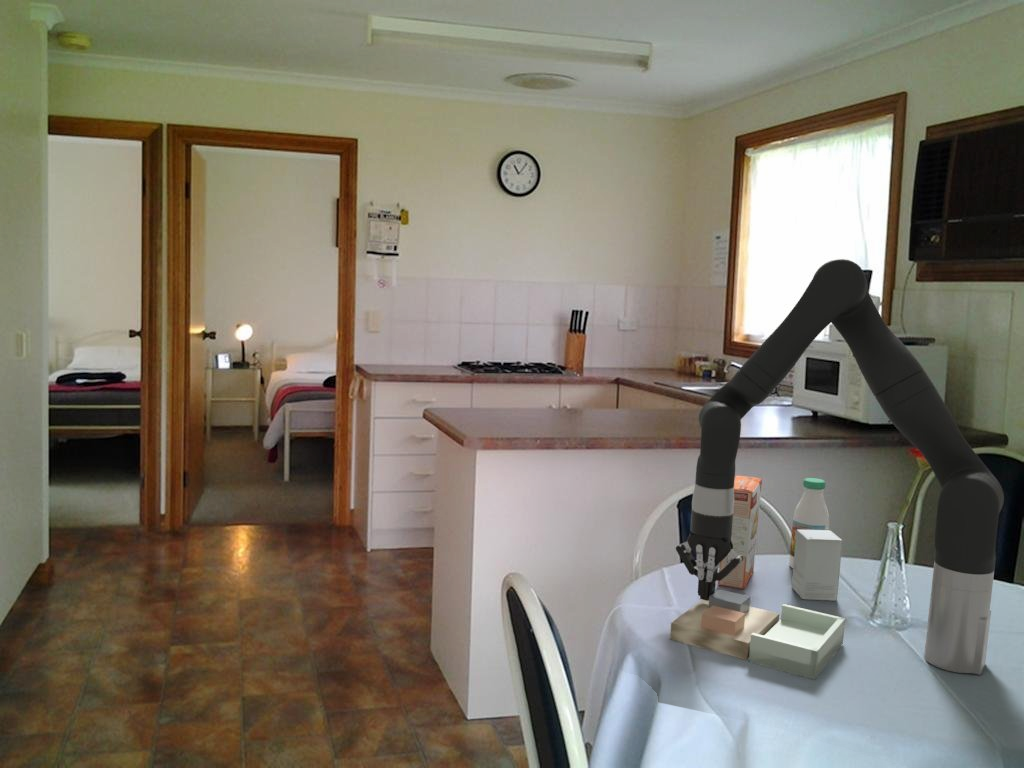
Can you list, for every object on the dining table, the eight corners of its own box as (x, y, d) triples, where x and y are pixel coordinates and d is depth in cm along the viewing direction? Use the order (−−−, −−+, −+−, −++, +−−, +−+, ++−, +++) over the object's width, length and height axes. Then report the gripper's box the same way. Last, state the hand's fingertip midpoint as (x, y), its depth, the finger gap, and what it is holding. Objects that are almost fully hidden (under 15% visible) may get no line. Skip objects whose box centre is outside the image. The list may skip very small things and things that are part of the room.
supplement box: (838, 601, 192) (843, 540, 190) (801, 599, 192) (806, 538, 190) (826, 588, 199) (831, 529, 197) (790, 587, 199) (795, 528, 197)
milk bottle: (797, 560, 217) (804, 474, 215) (830, 568, 213) (838, 480, 210) (783, 567, 211) (790, 479, 209) (817, 576, 207) (825, 485, 204)
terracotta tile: (744, 626, 168) (745, 613, 168) (734, 635, 164) (735, 621, 164) (711, 618, 171) (712, 605, 171) (701, 627, 167) (702, 613, 167)
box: (842, 644, 170) (845, 618, 169) (814, 679, 155) (817, 651, 154) (781, 628, 176) (783, 603, 175) (748, 661, 161) (750, 634, 160)
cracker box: (746, 590, 196) (754, 491, 193) (716, 586, 198) (723, 487, 195) (755, 571, 208) (763, 477, 206) (727, 566, 211) (734, 473, 208)
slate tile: (749, 609, 177) (750, 596, 176) (739, 617, 173) (740, 604, 172) (718, 602, 180) (719, 589, 180) (708, 609, 176) (709, 596, 175)
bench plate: (778, 629, 176) (779, 613, 175) (746, 659, 162) (748, 642, 161) (706, 611, 183) (707, 596, 183) (670, 639, 169) (671, 622, 169)
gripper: (754, 511, 176) (746, 601, 178) (687, 498, 183) (680, 585, 185) (740, 519, 170) (732, 613, 172) (671, 506, 177) (664, 596, 179)
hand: (705, 598), depth 179 cm, fingers closed
